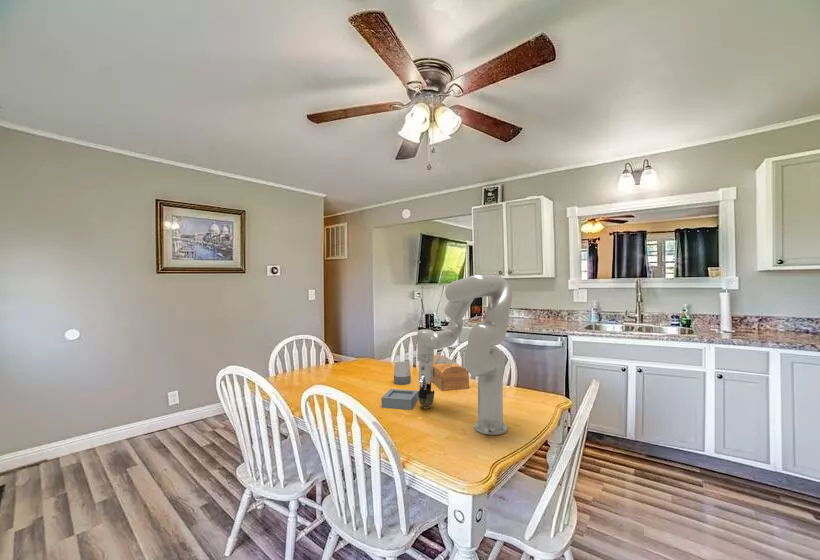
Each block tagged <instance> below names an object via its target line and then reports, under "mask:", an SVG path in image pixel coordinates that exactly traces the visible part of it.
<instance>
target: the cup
mask: <svg viewBox="0 0 820 560" xmlns="http://www.w3.org/2000/svg"><path fill="white" fill-rule="evenodd" d="M417 391H418V396H419V390H417ZM434 400H435V390H432V388H431V389H430V390H429V389H427V398H426V399H423V398H419V400H418V401H419V404H420V405H421V406H422V410H429V409H431V406H432V405H433V403H434Z"/></svg>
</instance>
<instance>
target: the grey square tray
mask: <svg viewBox="0 0 820 560" xmlns="http://www.w3.org/2000/svg"><path fill="white" fill-rule="evenodd" d="M418 391H419V390H413V389H401V388H400V389H397V388H396V389H395V388H390V389H389V390H388V391H386V393H385V394H384V395H383V396H382V397H381V402H380V403H381V408H382V409H383V408H384V409H395V410H405V411H406V410H407V411H412V410H413V408H414V407H415V405H416V404H417V403H418V401H419V396H418Z"/></svg>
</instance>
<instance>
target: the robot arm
mask: <svg viewBox="0 0 820 560" xmlns="http://www.w3.org/2000/svg"><path fill="white" fill-rule="evenodd" d="M444 294H445V298H446V299H447V301H448V302H447V304H446V306H445V307H444V314H445V315H446V317H447V318H448V319H449V322H448V324H447V326H446V327H445V329H443V330H437V331H434V330H432V329H428V328H427V329H425V328H424V329H423V328H422V329H419V330H418V331H417V347H416V348H417V351H416V353H417V354H416V355H417V356H416V357H417V359H416V360H417V362H418V363H419V364H418V383H419V390H418V391H419V398H423V399H426V398H427V389H429V390H430V389H431V390H432V383H433V382H432V380H433V361H434V356H435V350H440V349H443V348H449V347H451V346H452V345H454V344H455V343H456V341H457V340H458V338H459V337H460V334H461V332H462V330H463V327H464V326H463V320H464V319H463V318H464V317H465V315H466V313H467V311H468V310H469V308H470V306H471V305H472V303H473V301H474V300H475V299H478V298H485V297H490V301H489V303H488V305H487V307H486V311H485V317H484V318H485V319H484V321H482V322H478V323H476V324H474V325H473V326H472V328H471V329H470V331H469V335H468V338H467V339H468V340H467V347H466V353H465V369H466V370H467V371H468V374H470V375H471V376H473V377H477V421H476V422H475V423H474V426H473V428H474V430H475V431H477V432H478V433H480V434H484V435H490V436H499V435H500V436H501V435H502V434H505V433H506V432H507V431H508V425H506V424H505V423H504V399H503V398H504V391H503V390H504V380H503V379H504V371H505V365H506V363H505V362H506V361H505V359H506V358H505V355H504V353H503V351H501V350H500V349H499V348H497V347H496V346H499V345H501V344H503V343H504V342H505V340H506V335H507V331H508V330H507V329H508V323H509V318H510V317H509V316H510V310H511V307H512V300H513V290H512V287H511V284H510V283H509V282H508V281H507V280H506V278H504V277H502V276H500V275H497V274H474V275H470V276H467V277H464V278H460V279H457V280H453V281H452V282H450V283H449V284H447V286H446V287H445V293H444Z"/></svg>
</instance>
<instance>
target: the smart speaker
mask: <svg viewBox="0 0 820 560" xmlns="http://www.w3.org/2000/svg"><path fill="white" fill-rule="evenodd" d="M411 380H412V375H411V365H410V360H403V361H399V362H394V370H393V383H394V385H398V386H407V385H409V384H410V383H411Z"/></svg>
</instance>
